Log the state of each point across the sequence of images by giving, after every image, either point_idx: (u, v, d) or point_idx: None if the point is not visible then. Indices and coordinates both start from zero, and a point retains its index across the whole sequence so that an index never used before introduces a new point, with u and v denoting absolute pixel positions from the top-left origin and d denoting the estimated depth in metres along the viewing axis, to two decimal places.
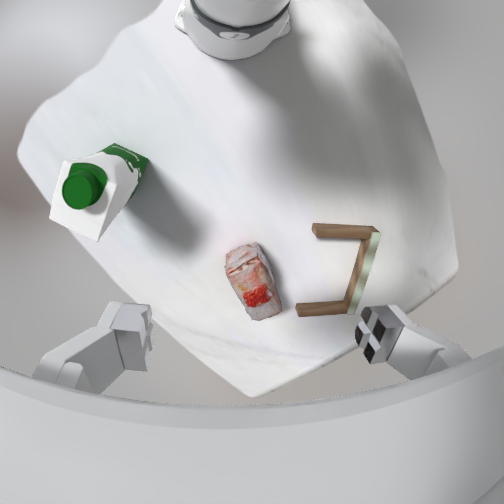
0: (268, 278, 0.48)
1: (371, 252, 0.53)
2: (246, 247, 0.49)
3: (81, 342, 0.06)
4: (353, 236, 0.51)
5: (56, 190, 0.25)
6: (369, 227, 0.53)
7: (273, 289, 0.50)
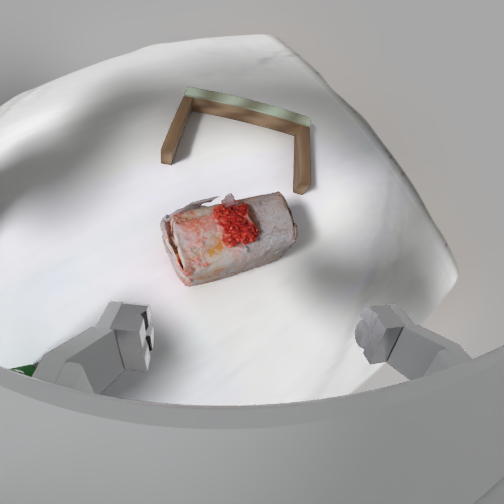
0: (209, 206, 0.28)
1: (212, 95, 0.38)
2: None
3: (81, 342, 0.06)
4: (183, 113, 0.36)
5: None
6: None
7: None
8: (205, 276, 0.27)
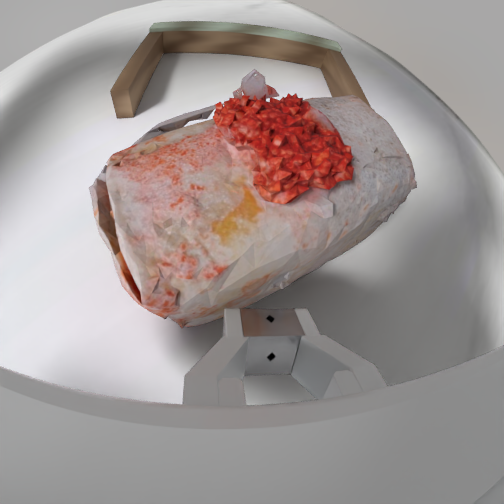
0: None
1: (190, 24, 0.21)
2: None
3: (222, 354, 0.07)
4: (149, 46, 0.19)
5: None
6: None
7: None
8: (219, 306, 0.09)
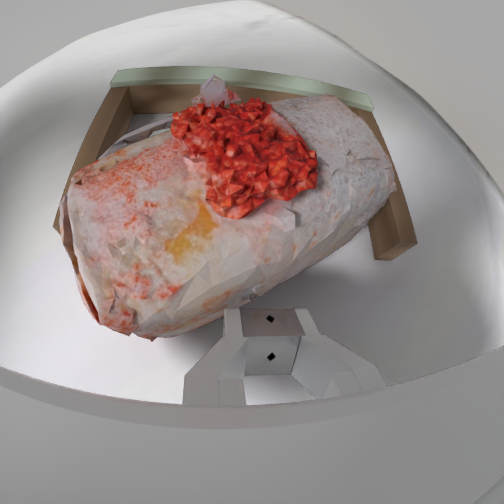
0: None
1: (166, 73, 0.17)
2: None
3: (222, 355, 0.07)
4: (106, 121, 0.15)
5: None
6: None
7: None
8: (183, 322, 0.09)
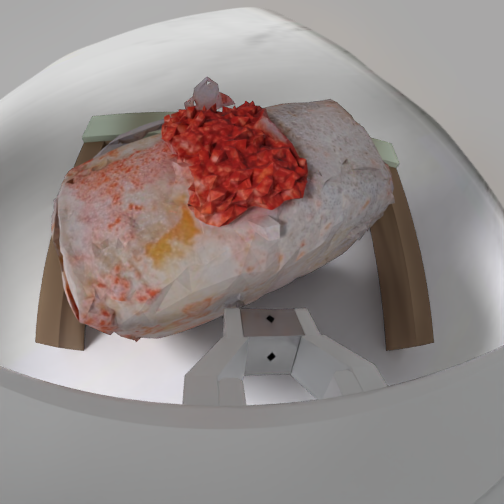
0: None
1: None
2: None
3: (222, 355, 0.07)
4: None
5: None
6: None
7: None
8: (165, 325, 0.09)
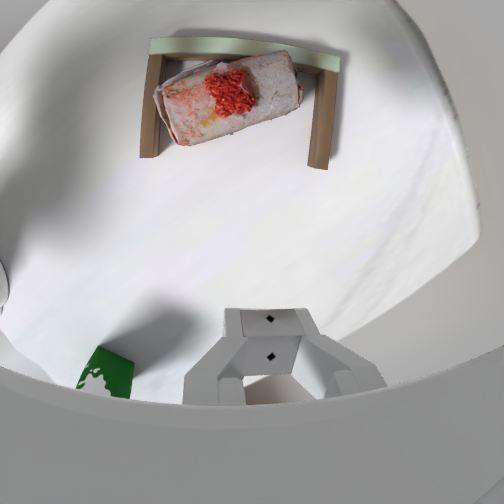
0: (203, 71, 0.21)
1: (189, 45, 0.22)
2: None
3: (222, 355, 0.07)
4: (154, 88, 0.24)
5: None
6: None
7: (231, 62, 0.21)
8: (203, 141, 0.25)
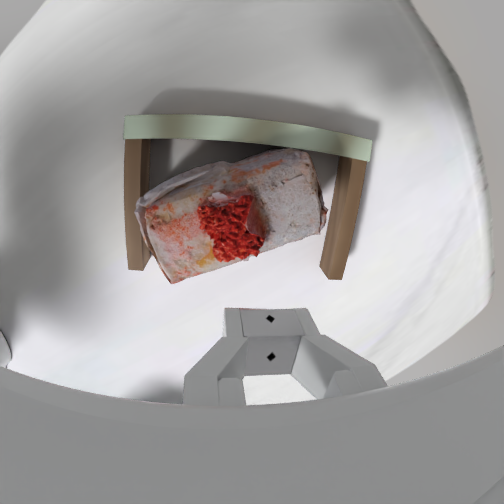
0: (195, 187, 0.18)
1: (175, 127, 0.19)
2: None
3: (222, 354, 0.07)
4: (136, 187, 0.21)
5: None
6: None
7: (232, 173, 0.18)
8: None
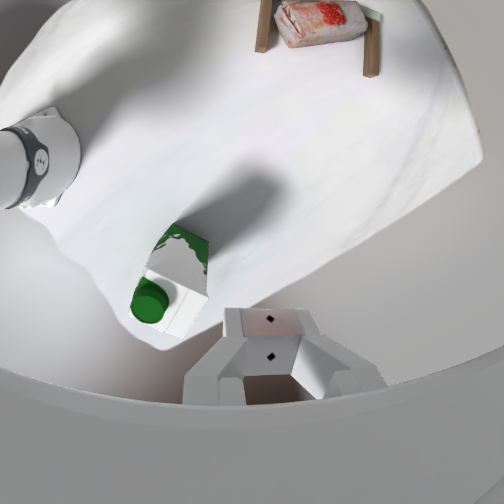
0: (311, 2, 0.27)
1: None
2: (277, 22, 0.31)
3: (222, 354, 0.07)
4: (269, 8, 0.30)
5: (154, 326, 0.32)
6: None
7: None
8: (309, 40, 0.31)
